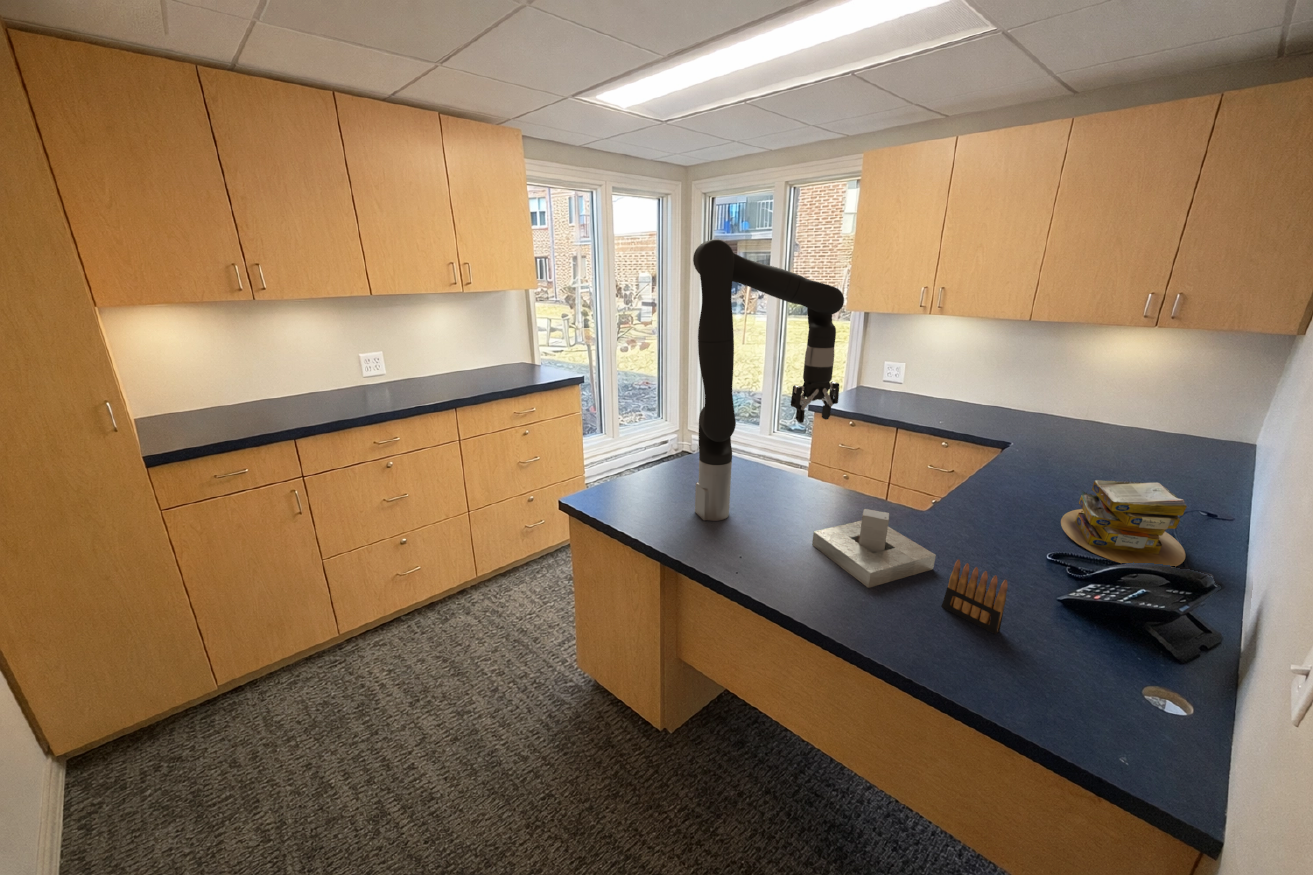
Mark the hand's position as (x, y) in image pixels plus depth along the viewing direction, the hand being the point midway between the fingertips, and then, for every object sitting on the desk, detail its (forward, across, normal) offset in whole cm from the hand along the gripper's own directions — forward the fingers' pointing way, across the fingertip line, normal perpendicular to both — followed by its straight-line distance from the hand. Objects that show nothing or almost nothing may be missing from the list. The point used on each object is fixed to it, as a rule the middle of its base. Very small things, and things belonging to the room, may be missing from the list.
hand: (812, 420), depth 143 cm
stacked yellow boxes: (+28, +66, -46) cm, 85 cm away
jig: (+28, 0, -27) cm, 39 cm away
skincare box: (+28, 0, -27) cm, 39 cm away
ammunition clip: (+28, +2, -53) cm, 60 cm away
